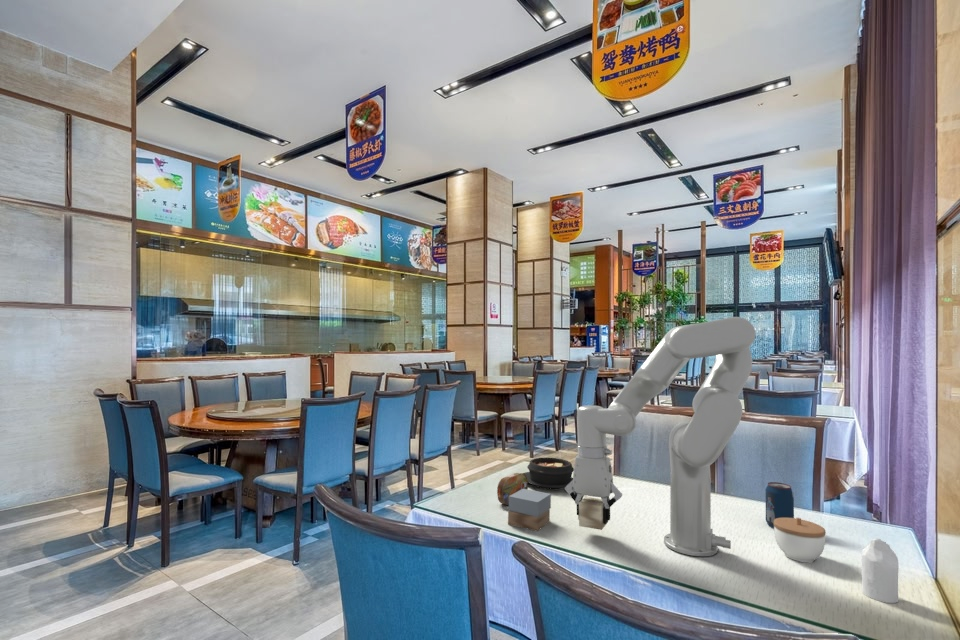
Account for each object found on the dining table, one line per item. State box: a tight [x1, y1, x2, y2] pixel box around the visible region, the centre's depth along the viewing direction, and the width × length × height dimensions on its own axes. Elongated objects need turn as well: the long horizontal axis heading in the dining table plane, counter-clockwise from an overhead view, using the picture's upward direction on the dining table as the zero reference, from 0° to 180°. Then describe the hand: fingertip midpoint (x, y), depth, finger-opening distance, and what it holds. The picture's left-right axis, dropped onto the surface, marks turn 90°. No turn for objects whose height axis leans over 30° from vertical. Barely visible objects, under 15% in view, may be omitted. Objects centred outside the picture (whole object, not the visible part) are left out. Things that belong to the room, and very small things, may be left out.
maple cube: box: [578, 496, 609, 531], centre depth 129 cm, size 6×6×6 cm
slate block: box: [508, 489, 552, 517], centre depth 138 cm, size 9×9×4 cm
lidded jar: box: [773, 517, 826, 563], centre depth 119 cm, size 11×11×9 cm
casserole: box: [522, 457, 574, 490], centre depth 176 cm, size 25×19×8 cm
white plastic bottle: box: [861, 538, 899, 604], centre depth 100 cm, size 6×12×6 cm
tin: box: [496, 472, 529, 506], centre depth 157 cm, size 15×3×8 cm, turn 143°
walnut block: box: [507, 508, 551, 532], centre depth 138 cm, size 9×9×4 cm
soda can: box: [765, 481, 795, 530], centre depth 139 cm, size 7×7×12 cm
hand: (593, 519), depth 129 cm, fingers closed on maple cube, 6 cm apart
